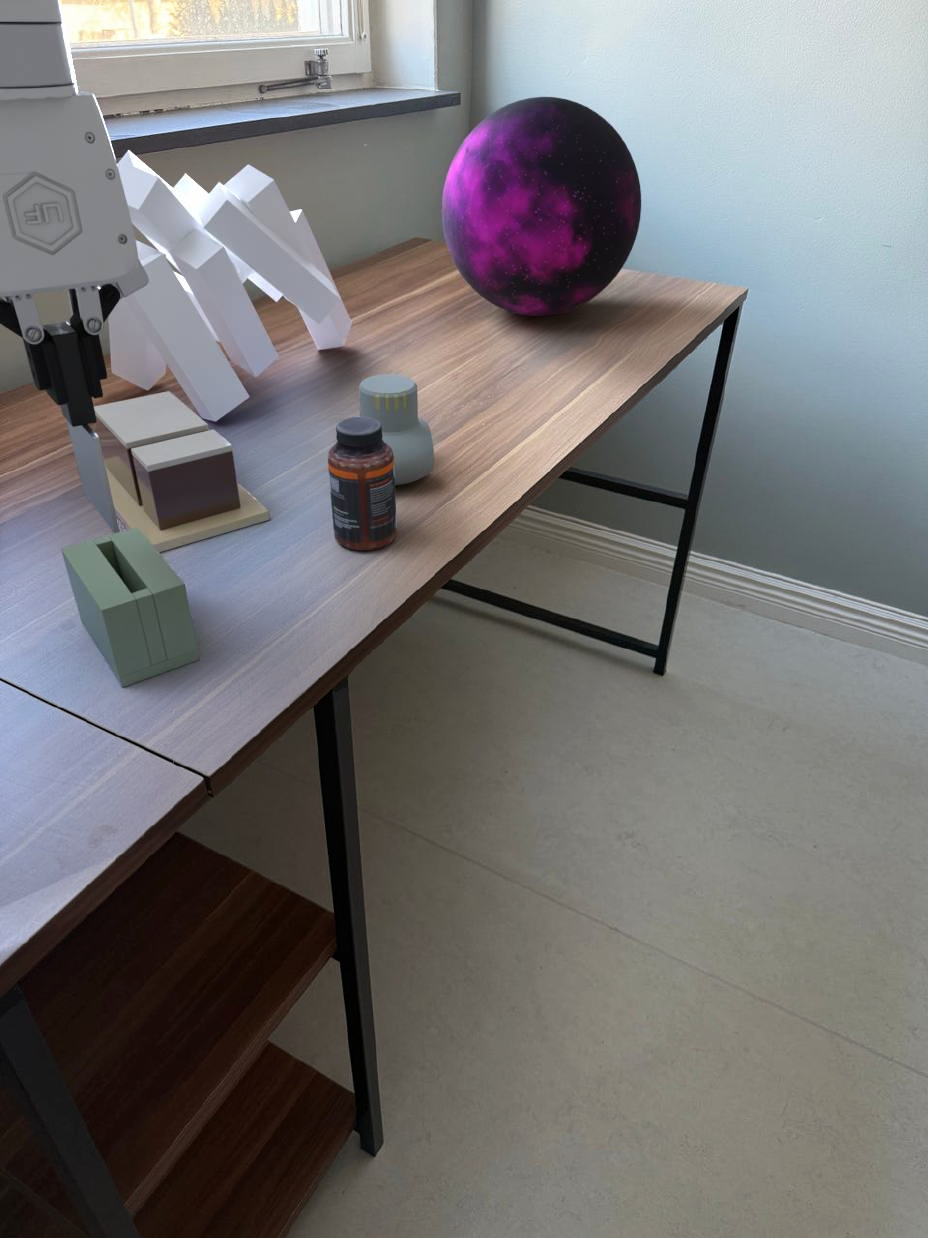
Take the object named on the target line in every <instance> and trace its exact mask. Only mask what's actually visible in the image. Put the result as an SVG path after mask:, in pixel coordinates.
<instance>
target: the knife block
mask: <svg viewBox="0 0 928 1238" xmlns="http://www.w3.org/2000/svg"><path fill="white" fill-rule="evenodd" d="M60 551H61V555H62V558H63V562H64V565H65V569H66V572H67V576H68V579H69V583H70V586H71V590H72V593H73V597H74V600H75V604H76V607H77V610H78V613H79V614H78V615H79V617H80V621H81V623H82V625H83V627H84V628H85V630H86V631H87V633H88V634H89V636H90V638H91V639H92V642H93V643H94V644H95V646H96V648H97V649H98V651H99V653H100V655H101V656H102V657H103V659H104V660H105V662H106V664H107V666H108V667H109V669H110V671H111V672H112V674H113V675H114V677H115V678H116V681H117V682H118V683H119V684H120V687H122V688H125V687H128V686H130V685H133V684H136V683H139V682H141V681H144V680H146V679H147V680H148V679H149V678H152V677H156V676H158V675H160V674H164V673H166V672H168V671H171V670H174V669H178V668H180V667H183V666H186V665H189V664H192V663H193V662H196V661H200V653H199V649H198V643H197V638H196V633H195V629H194V623H193V617H192V613H191V608H190V603H189V597H188V592H187V588H186V583H185V582H184V581H183V580H182V579H181V577H180V576H179V575H178V573H176V571H175V570H174V569H173V567H171V565H170V564H169V563H168V561H167V560H166V559H165V557H163V555H162V554H161V552H158V551H157V549H156V548H155V547H154V546H153V545H152V543H151V542H150V541H149V540H148V538H147V537H146V536H145V535H144V534H143V532H142V531H141V530H140V529H139V528H138V527H136V528H132V529H129V530H128V529H126V530H125V529H124V530H121V531H119V532H117V533H111V534H108V535H103V536H99V537H97V538H93V539H89V540H85V541H82V542H78V543H75V544H70V545H68V546H64V547H61V548H60Z"/></svg>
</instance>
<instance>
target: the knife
mask: <svg viewBox="0 0 928 1238" xmlns="http://www.w3.org/2000/svg"><path fill="white" fill-rule="evenodd" d="M70 325H71V324H70V323H69V322H68V321H62V322H56V323H48V324H42V326H43V327H44V328H45V329H46V330H47V333H48V337H49V340H50V341H51V342H52V343H55V344H56V347H57V350H58V355H59V359H60V363H61V367H62V372H63V376H64V380H65V384H66V389H67V393H68V397H69V401H68V402H67V404H64V405H59V406H60V410H61V415H62V416H63V417H64V418H65V421H66V425H67V428H68V433H69V437H70V441H71V445H72V451H73V453H74V458H75V461H76V462H75V463H76V466H77V470H78V475H79V479H80V483H81V487H82V491H83V494H84V495H85V496H86V498H87V500H89V502H90V503H91V504H92V506H93V508H95V510H96V511H97V513H98V514H99V515H100V517H101V518H102V519H103V521H104V522H105V523H106V525H107V526H108V527H109V529H110V530H111V531H112V534H114V533H118V532H120V528H119V522H118V519H117V518H118V517H117V515H116V513H115V509H114V504H113V500H112V495H111V490H110V486H109V481H108V477H107V472H106V467H105V463H104V457H103V453H102V448H101V444H100V440H99V436H98V434H97V433H96V432H95V431H94V430H93V429H92V427H91V426H90V425H92V424H96V422H97V419H96V415H95V410H94V407H95V406H94V405H95V404H94V402H93V397H90V393H89V388H88V383H87V379H86V374H85V370H84V365H83V361H82V356H81V351H80V347H79V342H78V339H79V336H78V333H77V331H76V330H75V329H74V328H72V327H71V326H70Z"/></svg>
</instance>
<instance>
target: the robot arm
mask: <svg viewBox="0 0 928 1238" xmlns="http://www.w3.org/2000/svg"><path fill="white" fill-rule="evenodd" d="M64 22H65V18H64V13H63V8H62V3H61V0H0V325H1V326H3V327H4V328H6V329H7V330H9V331H11V332H12V333H14V334H16V335H17V336H19V337H20V338H22V341H23V345H24V350H25V353H26V357H27V361H28V364H29V369H30V373H31V377H32V379H33V383H34V385H35V387H36V389H37V390H38V391H40V392H41V391H45V392H46V394H47V395H48V396H49V397H50V399H51V400H52V401H53V402H54V403H55V404H56V405H57V406H58V407H59V406H60V405H64V404H67V402H68V401H69V397H68V393H67V389H66V384H65V380H64V376H63V372H62V367H61V363H60V359H59V355H58V350H57V347H56V344H55V343H52V342H51V341H50V340H49V337H48V333H47V330H46V329H45V328H44V327H43V326H42V325H43V324H42V320H41V317H40V314H39V310H38V307H37V303H36V299H35V296H34V294H40V293H49V292H57V291H63V290H64V291H65V290H66V293H67V298H68V304H69V309H70V315H71V317H70V318H69V325H70V326H71V327H72V328H74V329H75V330H76V331H77V333H78V336H79V339H78V342H79V347H80V351H81V356H82V361H83V365H84V370H85V374H86V379H87V383H88V388H89V393H90V397H92V399H95V400H96V399H100V398H103V397H104V391H103V387H102V382H101V381H102V380H107V379H108V372H107V367H106V363H105V358H104V353H103V347H102V343H101V338H100V334H101V333H103V331H104V328H105V322H106V321H107V320H108V316H109V315H110V313H111V312H112V310H113V309H114V308H115V306H116V305H117V303H118V302H119V300H120V299H122V298H123V297H127V296H129V295H130V294H132V293H134V292H136V291H138V290H139V289H141V288H143V287H145V286H146V285H147V284H148V281H149V278H148V275H147V273H146V271H145V270H144V268H143V266H142V264H141V262H140V260H139V259H138V251H137V245H136V240H137V239H136V234H135V231H134V224H133V223H132V221H131V217H130V213H129V208H128V204H127V200H126V197H125V193H124V189H123V184H122V181H121V177H120V173H119V170H118V166H117V164H118V163H117V159H116V156H115V155H116V154H115V152H114V149H113V145H112V142H111V138H110V135H109V133H108V129H107V127H106V124H105V120H104V117H103V114H102V112H101V109H100V106H99V103H98V101H97V98H96V96H95V94H94V92H88V91H85V90H78V84H77V80H76V74H75V69H74V65H73V59H72V54H71V48H70V43H69V39H68V33H67V28H66V24H65V23H64Z"/></svg>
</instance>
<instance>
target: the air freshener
mask: <svg viewBox="0 0 928 1238" xmlns="http://www.w3.org/2000/svg"><path fill="white" fill-rule="evenodd" d="M358 394H359V397H358V398H359V417H370V418H374V419H376V420H378V421H379V422H380V423H381V426H382V435H383V437H382V440H383V441H384V442H385V443H387V444H388V445H389V446H390V447H391V449H392V451H393V455H394V473H395V486H402V485H406V484H410V483H414V482H415V481H418V480H420V479H422V478H424V477H426V476H427V475H428V474H430V473H431V472H432V471H433V470H434V467H435V449H434V442H433V436H432V432H431V427H430V425H429V423H428V421H426V420H425V419H423V418H421V417H419V401H418V400H419V399H418V395H419V394H418V384H417V383H416V382H415V381H414V380H413V379H412V378H411V377H408V376H406V375H403V374H396V373H395V374H394V373H382V374H375V375H372V376H371V375H370V376H368V377H366V378H365V379H363V380H362V381H361V383H359V385H358Z"/></svg>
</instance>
